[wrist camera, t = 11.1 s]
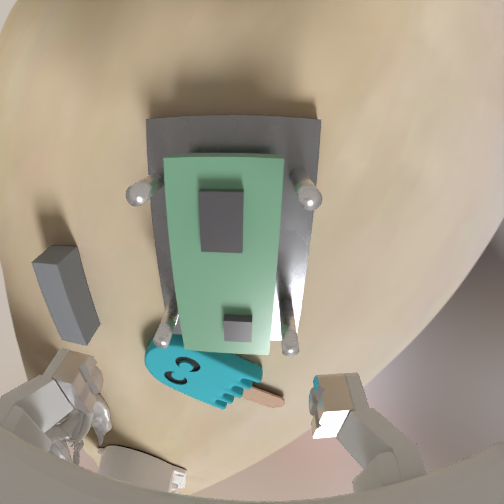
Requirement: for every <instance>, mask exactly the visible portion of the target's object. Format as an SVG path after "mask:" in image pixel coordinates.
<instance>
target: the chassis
mask: <svg viewBox="0 0 504 504" xmlns="http://www.w3.org/2000/svg"><path fill="white" fill-rule="evenodd" d="M146 128H147V156H148V174H149V176H147V177H145V178H144V179H142V180H140V181H139V182H137V183H135V184H134V185H132V186H130V187H129V188H128V189H127V191H126V199H127V201H128V202H129V204H131V205H132V206H140V205H142V204H143V203H144V202H145V201H146V200H148V199H149V198H150V200H151V211H152V221H153V230H154V238H155V246H156V254H157V261H158V268H159V275H160V281H161V287H162V293H163V299H164V305H165V313H164V315H163V317H162V320H161V322H160V324H159V327H158V329H157V331H156V334H155V336H154V339H153V343H154V344H155V345H156V346H157V347H159V348H167V347H168V345H169V342H170V339H171V336H172V334H180V335H182V331H181V325H180V319H179V313H178V306H177V300H176V293H175V285H174V278H173V270H172V262H171V253H170V244H169V234H168V223H167V211H166V198H165V182H164V162H163V158H165V157H167V156H169V155H171V154H179V153H257V154H280V155H282V156H283V158H284V171H283V188H282V204H281V219H280V234H279V247H278V260H277V273H276V285H275V297H274V308H273V319H272V330H271V340H281V342H282V353H283V354H284V355H285V356H289V357H291V356H295V355H297V354H298V352H299V345H298V337H297V329H298V323H299V317H300V310H301V304H302V297H303V291H304V284H305V277H306V270H307V262H308V255H309V247H310V239H311V230H312V222H313V213H314V210H315V209H317V208H318V207H319V206H320V205H321V203H322V195H321V193H320V192H319V190H318V189H317V188H316V182H317V171H318V159H319V145H320V131H321V120H319V119H309V118H297V117H283V116H263V115H198V116H179V117H165V118H153V119H146Z"/></svg>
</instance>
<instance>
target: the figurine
mask: <svg viewBox="0 0 504 504" xmlns="http://www.w3.org/2000/svg"><path fill="white" fill-rule="evenodd" d="M95 399H96V402H95V404H94V406H93V408H92V411H91V413H89V412H85V411H82V410H78V409H75V408H73V410H72V411H71V412H70V413H68V414H67V415H66V416H65V417H63V418H62V419H61V420H60V421H59V422H57V423H61V424H58V425H56V424H57V423H56V424H55V425H54V426H52V427H51V428H50V429H49V430H47V431H46V432H45V434H46V435H47V436H48V437H49V438H50V439H51V441H52V445H51V447H50V449H49V452H48V453H51V454H53V455H55V456H57V457H59V458H61V459H64V460H66V461H68V462H70V463H72V459H71V456H70V454H69V453H70V452H69V449H68V446H67V443H66V441H69V443H71V442H73V443H74V444H72V445H71V447H73V446H75V448H74V450H75V451H74V455H73V464H75V465H78V464H79V451H80V450H81V449H82V447H83V445H84V443H83V441H82V439H83V438H84V437H85V436H86V435H87V434H88V432H89V430H90V428H91V427H92V428H93V429H94V432H95V433H96V435H97V436H98V437H97V439H98V443H99V446H101V444H102V443H103V441H104V440H103V437H104V436H105V435H106V433H107V432H108V431H110V430H111V429H112V423H111V421H110V412H109V408H108V405H107V404H106V402H105V401H104V399H103V398H102V396H101V395H100V394H99V393H98V394H96V395H95ZM71 436H72V439H70V438H71ZM68 439H70V440H68Z"/></svg>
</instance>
